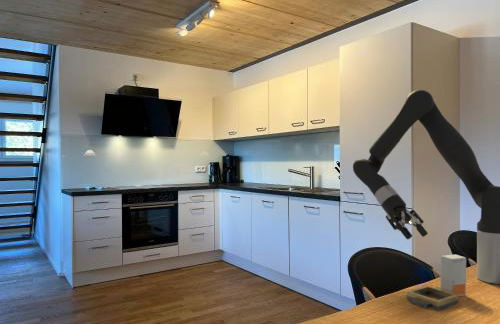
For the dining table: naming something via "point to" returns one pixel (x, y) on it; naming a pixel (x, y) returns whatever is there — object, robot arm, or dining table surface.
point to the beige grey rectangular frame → (421, 300)
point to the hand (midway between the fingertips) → (417, 236)
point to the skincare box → (453, 274)
